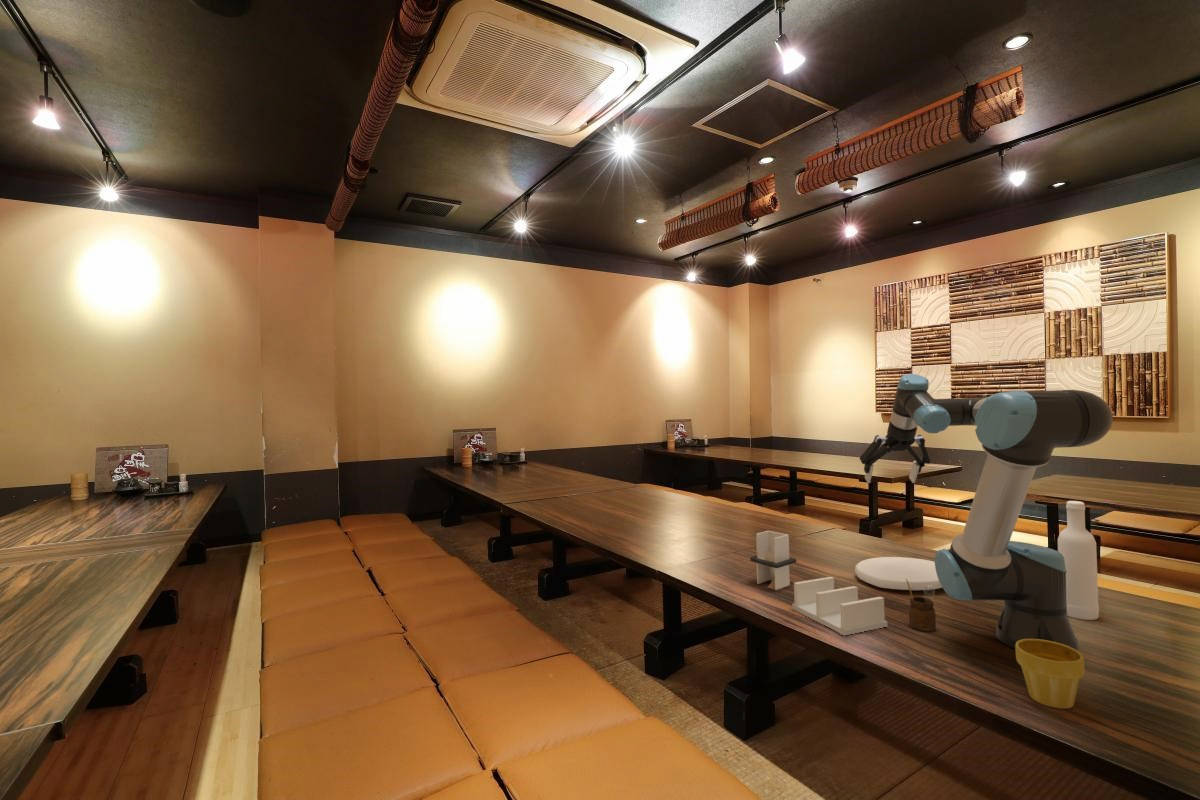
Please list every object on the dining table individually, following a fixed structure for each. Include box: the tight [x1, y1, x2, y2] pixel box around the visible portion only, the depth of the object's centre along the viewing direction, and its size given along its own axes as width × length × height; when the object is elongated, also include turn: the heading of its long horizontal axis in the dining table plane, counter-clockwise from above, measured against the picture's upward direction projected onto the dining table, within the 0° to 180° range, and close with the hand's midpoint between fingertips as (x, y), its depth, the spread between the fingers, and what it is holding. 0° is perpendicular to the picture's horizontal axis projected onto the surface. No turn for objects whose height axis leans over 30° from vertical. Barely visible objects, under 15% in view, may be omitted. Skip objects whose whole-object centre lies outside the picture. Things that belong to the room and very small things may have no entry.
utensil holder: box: [906, 579, 937, 632], centre depth 140 cm, size 6×6×12 cm
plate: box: [854, 556, 943, 591], centre depth 175 cm, size 28×6×27 cm
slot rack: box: [791, 576, 889, 637], centre depth 147 cm, size 20×14×8 cm
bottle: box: [1057, 500, 1100, 621], centre depth 145 cm, size 8×8×30 cm
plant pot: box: [1014, 639, 1085, 710], centre depth 106 cm, size 10×10×10 cm
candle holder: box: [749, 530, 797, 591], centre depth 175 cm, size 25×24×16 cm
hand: (889, 480), depth 174 cm, fingers open, 13 cm apart
